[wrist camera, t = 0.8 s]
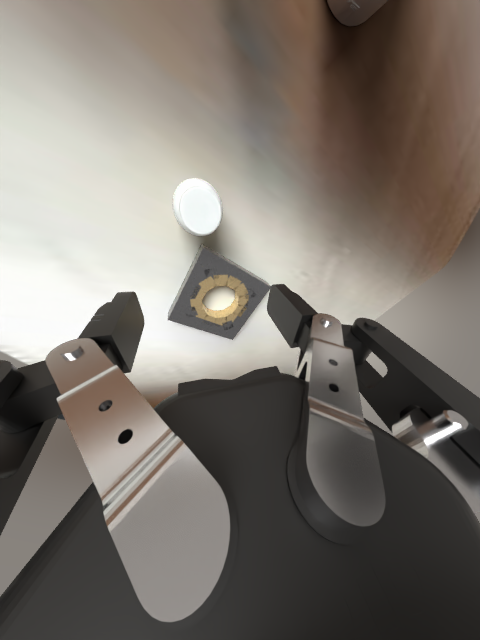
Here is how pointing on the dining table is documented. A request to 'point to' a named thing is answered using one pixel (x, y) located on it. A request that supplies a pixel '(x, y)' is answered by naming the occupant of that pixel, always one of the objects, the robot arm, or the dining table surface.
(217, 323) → the mount plate
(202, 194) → the supplement bottle
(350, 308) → the dining table surface
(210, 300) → the dining table surface
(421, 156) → the dining table surface
